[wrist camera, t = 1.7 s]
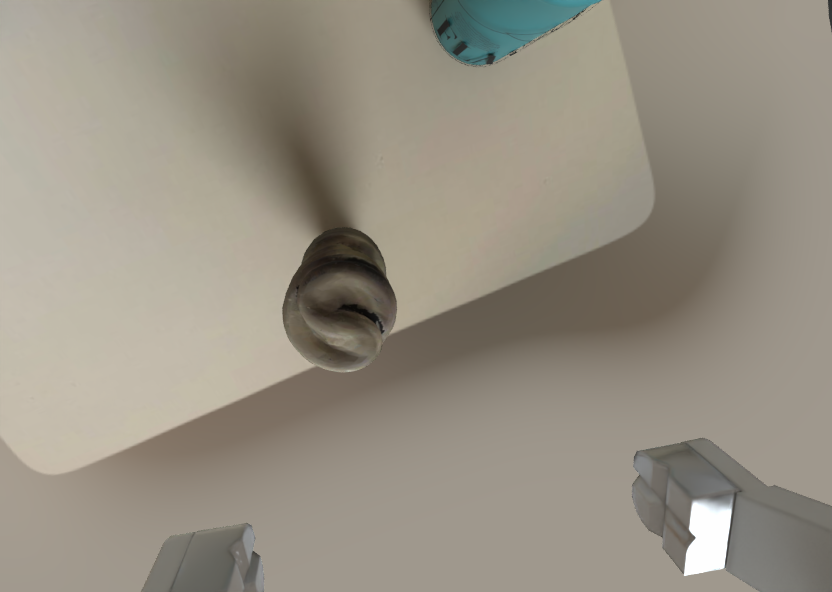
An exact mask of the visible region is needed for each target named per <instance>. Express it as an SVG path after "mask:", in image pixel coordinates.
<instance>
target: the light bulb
mask: <svg viewBox="0 0 832 592" xmlns="http://www.w3.org/2000/svg"><path fill="white" fill-rule="evenodd" d="M396 312H397V304H396V298H395V294H394V291H393V289H392V287H391V285H390V283H389V281H388V279H387V277H386V267H385V263H384V259H383V257H382V255H381V252H380V250H379V249H378V247H377V245H376V244H375V243H374V242H373V240H372V239H371V238H369V237H368V236H367V235H366V234H364V233H362V232H361V231H358V230H355V229H352V228H335V229H332V230H328V231H326V232H324V233H322V234H321V235H319V236H318V237H317V238H315V239H314V240H313V242H312V243H311V244H310V246H309V247H308V249H307V250H306V252H305V254H304V257H303V260H302V264H301V266H300V267H299V268H298V270H297V272H296V273H295V275H294V276H293V278H292V280H291V283H290V285H289V288H288V290H287V292H286V296H285V300H284V304H283V322H284V327H285V330H286V333H287V336H288V338H289V340H290V342H291V343H292V345H293V346H294V347H295V348H296V350H297V351H298V352H299V353H300V354H301V355H302V356H303V357H304V358H306V359H307V360H308V361H309V362H311V363H312V364H314V365H316V366H318V367H321V368H324V369H327V370H330V371H336V372H350V371H356V370H358V369H361V368H364V367H366V366H367V365H369V364H370V363H371V362H373V361H374V360H375V359H376V357H377V356H378V355H379V353H380V352H381V349H382V343H383V341H384V340H385V339H386V337H387V336H388V335H389V333H390V332H391V330H392V328H393V326H394V323H395V319H396Z"/></svg>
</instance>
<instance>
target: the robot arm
mask: <svg viewBox="0 0 832 592" xmlns="http://www.w3.org/2000/svg"><path fill="white" fill-rule="evenodd" d="M634 468H635V470H636V471H637V472H638V473H639V476H638V477H637V479H636V480H635V481H634V483H633V485H632V498H633V502H634V505H635V509H636V511H637V513H638V515H639V517H640V519H641V521H642V522H643V523H644V525H645V526H646V527H647V529H648V530H649V531H651V532H653V533H655V534H657V535H659V536H661V537H662V538H663V549H664V550H665V551H666V553H667V554H668V555H669V557H670V558H671V559H672V560H673V562H674V563H675V564H676V565H677V567H678V568H679V569H680V570H681V572H682V573H683V574H684V575H690V574H696V573H701V572H706V571H712V570H718V569H723V568H726V571H727V572H729V573H731V574H732V575H734V576H736V577H737V578H739V579H740V580H742V581H743V582H745V583H747V584H748V585H750V586H752V587H753V588H755V589H756V590H758V591H760V592H832V506H830V505H827V504H825V503H822V502H819V501H817V500H814V499H811V498H808V497H805V496H803V495H800V494H797V493H794V492H791V491H789V490H786V489H783V488H781V487H778V486H775V485H774V486H769V487H768V486H766V485H765V484H764V483H763V482H761V481H760V480H759V479H758V478H756V477H755V476H754V475H753V474H751V473H750V472H749V471H748V470H746V469H745V468H744V467H743V466H741V465H740V464H739V463H738V462H737V461H735V460H734V459H733V458H731V457H730V456H729V455H728V454H727V453H725V452H724V451H723V450H722V449H720V448H719V447H718V446H717V445H715V444H714V443H713V442H712V441H710V440H708V439H705V438H699V439H695V440H689V441H685V442H681V443H677V444H672V445H666V446H661V447H656V448H651V449H646V450H640V451H637V452H636V454H635V456H634ZM254 542H255V536H254V532H253V529H252V526H251V525H250V524H248V523H245V524H239V525H233V526H226V527H220V528H214V529H208V530H201V531H197V532H192V533H186V534H180V535H174V536H170V537H169V538H168V539H167V540H166V541H165V542H164V543H163V546H162V548H161V550H160V552H159V554H158V556H157V558H156V561H155V563H154V565H153V567H152V569H151V571H150V574H149V576H148V578H147V581H146V582H145V584H144V587H143V589H142V591H141V592H264V574H263V565H262V561H261V558H260V556H259V555H258V554H257V553H255V552H254V551H253V547H254Z"/></svg>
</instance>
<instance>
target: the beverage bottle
mask: <svg viewBox="0 0 832 592" xmlns="http://www.w3.org/2000/svg"><path fill="white" fill-rule="evenodd" d="M431 1H432V2H431V5H432V6H431V14H432V17H431V19H432V22H433V26H434V30H435V33H436V35H437V37H438V39H439V41H440V43H441V45H442V46H443V47H444V49H445V50H446V51H447V52H448V53H449V54H450V55H452V56H453V57H454V58H456V59H457V60H460V61H461V62H464V63H466V64H467V63H468V64H472V65H474V66H483V65H485V64H492V63H493V62H495V61H497V60H499V59H501V58H502V57H504V56H506V55H508V54H509V53H511V52H513V51H514V50H517V49H518V48H520V47H521V46H523V45H524V46H525V44H527V43H528V42H529V43H530V42H531V41H532V40H533V39H535V38H537V37H538V40H539V39H540V38H543V36H544V35H543V36H542V34H544V33H546V32H547V31H549V30H550V31H551V29H552V28H554V27H556V26H557V25H559V24H561V23H563V22H564V21H566V20H568V19H570V18H571V17H572V18H573V16H575V15H576V14H577V15H578V14H580V12H581V11H582V10H584V9H585V8H587V7H588V6H590V5H592V4H595V3H597V4H598V3H599V2H600V1H602V0H431ZM429 8H430V5H429ZM592 8H593V7H592ZM585 10H586V9H585ZM585 10H584V11H585ZM584 11H582V12H584ZM582 12H581V13H582ZM587 12H588V11H587ZM577 15H576V17H578V16H579V15H578V16H577ZM431 19H430V21H431ZM574 19H575V17H574V18H573V20H574ZM573 20H572V21H573ZM575 20H576V19H575ZM568 21H569V20H568ZM570 22H571V21H570ZM570 22H569V23H570ZM564 24H565V23H564ZM431 25H432V24H431ZM564 26H565V25H564ZM561 27H562V25H561ZM432 29H433V28H432ZM553 30H554V29H553ZM553 30H552V31H551V32H554V31H555V30H554V31H553ZM556 30H557V28H556ZM433 32H434V31H433ZM551 32H550V34H551ZM434 35H435V34H434ZM540 35H541V37H540ZM546 35H547V34H546ZM435 37H436V36H435ZM436 39H437V38H436ZM437 41H438V40H437ZM533 41H535V40H533ZM438 43H439V42H438ZM533 43H534V42H533ZM533 43H530V44H533ZM441 45H440V46H441ZM524 46H523V47H524ZM444 49H443V50H444ZM445 50H444V51H445ZM521 50H522V49H521ZM446 51H445V52H446ZM514 52H515V51H514ZM514 52H513V53H512V54H510V55H509V56H511V55H513V54H515V53H517V52H515V53H514ZM448 53H447V54H448ZM449 54H448V55H449ZM450 55H449V56H450ZM450 57H451V56H450ZM454 58H453V59H454ZM505 59H506V58H505ZM457 60H456V61H457ZM503 60H504V59H503ZM458 62H459V61H458ZM461 62H460V63H461ZM496 63H497V62H496ZM462 64H463V63H462ZM466 64H465V65H466ZM468 66H469V65H468ZM474 66H473V67H474ZM484 67H486V66H484Z"/></svg>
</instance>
